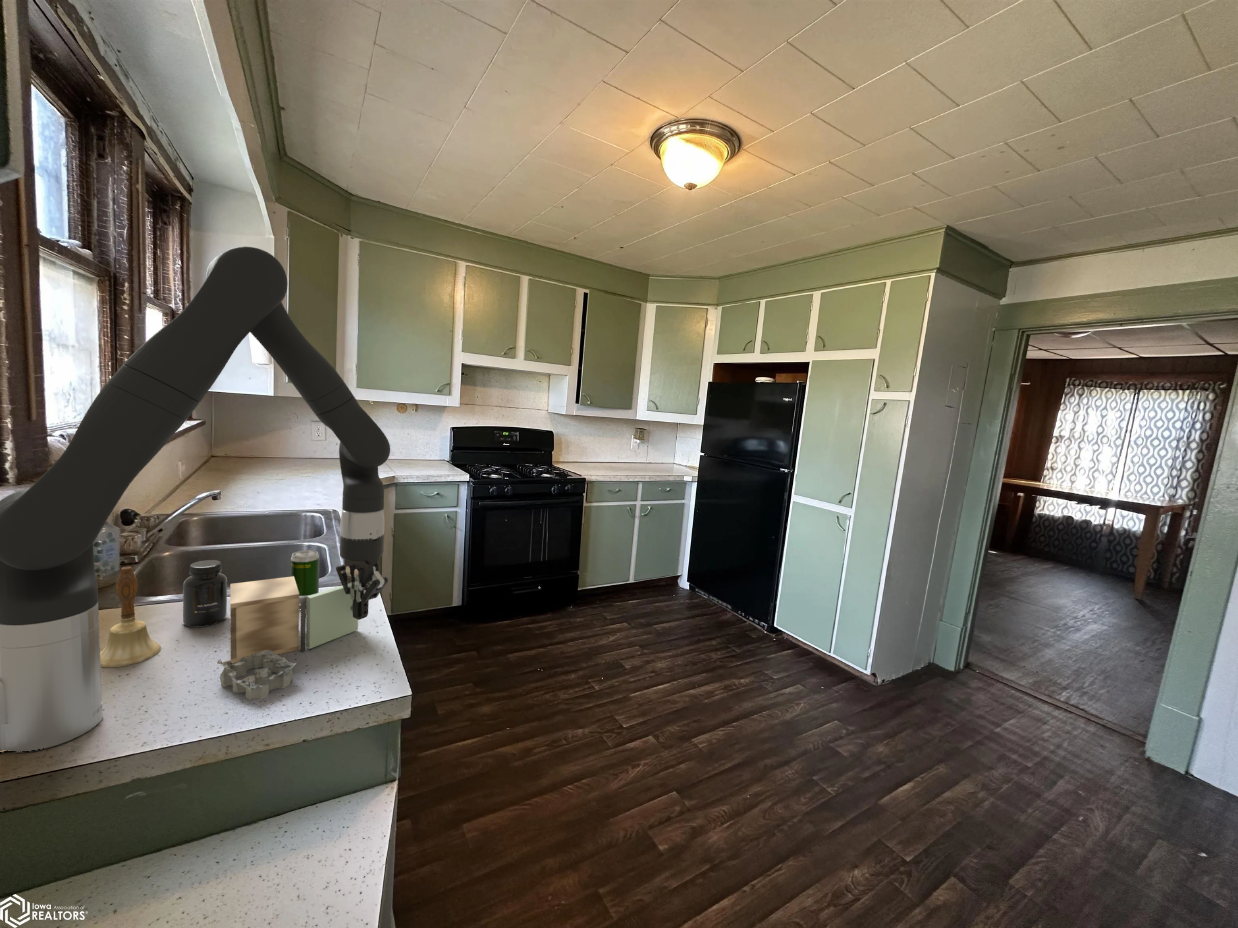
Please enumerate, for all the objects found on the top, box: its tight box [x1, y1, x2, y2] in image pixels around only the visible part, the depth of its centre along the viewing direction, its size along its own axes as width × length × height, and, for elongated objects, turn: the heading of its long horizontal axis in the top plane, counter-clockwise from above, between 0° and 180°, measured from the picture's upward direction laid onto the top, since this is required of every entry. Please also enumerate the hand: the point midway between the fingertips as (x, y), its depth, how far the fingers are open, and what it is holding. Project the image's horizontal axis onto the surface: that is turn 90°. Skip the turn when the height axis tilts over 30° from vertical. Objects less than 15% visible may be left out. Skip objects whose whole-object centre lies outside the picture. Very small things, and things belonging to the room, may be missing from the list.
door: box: [305, 585, 359, 649], centre depth 96 cm, size 2×10×10 cm, turn 153°
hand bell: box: [100, 566, 162, 668], centre depth 85 cm, size 8×8×16 cm
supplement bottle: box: [182, 559, 228, 628], centre depth 99 cm, size 7×7×12 cm
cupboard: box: [229, 576, 306, 664], centre depth 92 cm, size 11×11×11 cm
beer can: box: [289, 549, 320, 609], centre depth 110 cm, size 5×5×12 cm
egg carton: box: [217, 650, 297, 701], centre depth 82 cm, size 11×8×4 cm
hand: (360, 617), depth 97 cm, fingers closed
